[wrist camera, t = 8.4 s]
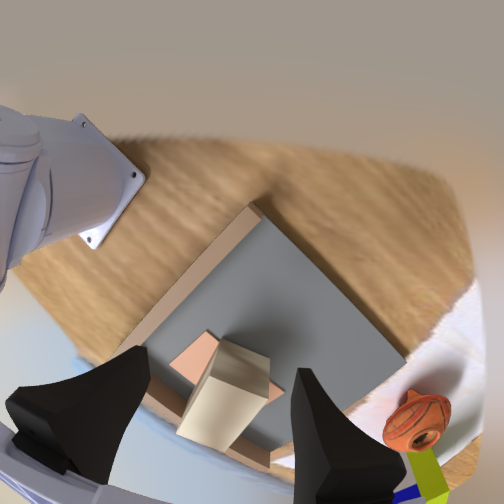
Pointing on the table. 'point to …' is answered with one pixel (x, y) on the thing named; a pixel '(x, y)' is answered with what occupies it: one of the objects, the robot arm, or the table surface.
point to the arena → (260, 330)
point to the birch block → (226, 396)
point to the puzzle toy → (422, 479)
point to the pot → (417, 423)
